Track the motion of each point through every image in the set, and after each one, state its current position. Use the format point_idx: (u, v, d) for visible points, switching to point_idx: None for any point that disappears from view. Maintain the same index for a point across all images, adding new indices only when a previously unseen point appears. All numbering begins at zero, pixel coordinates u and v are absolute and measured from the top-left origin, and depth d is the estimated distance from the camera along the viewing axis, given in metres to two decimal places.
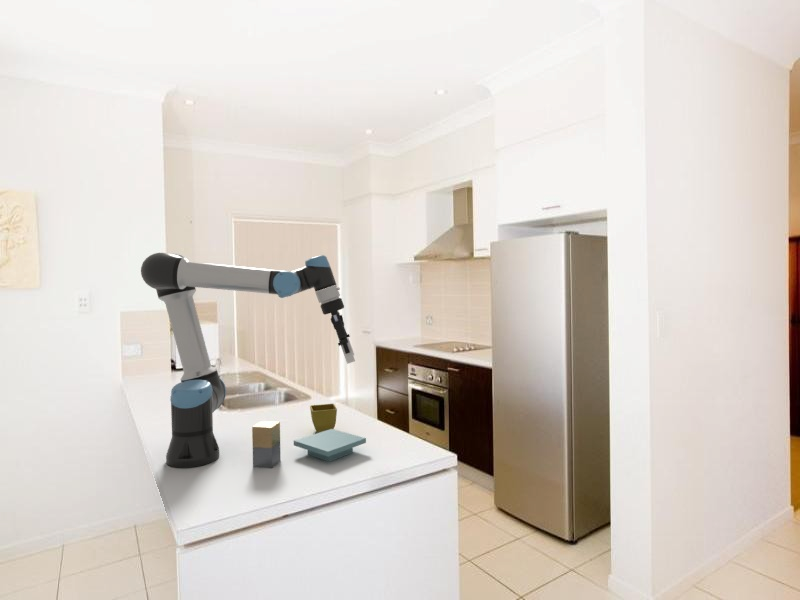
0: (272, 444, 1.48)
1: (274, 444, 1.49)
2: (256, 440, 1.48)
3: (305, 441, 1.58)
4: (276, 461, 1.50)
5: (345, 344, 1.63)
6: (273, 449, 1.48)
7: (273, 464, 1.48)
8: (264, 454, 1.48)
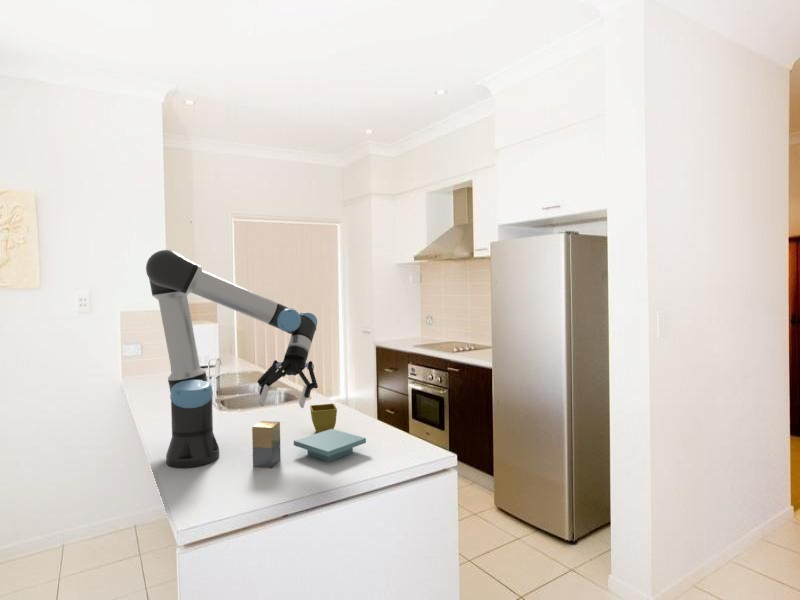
0: (272, 444, 1.48)
1: (274, 444, 1.49)
2: (256, 440, 1.48)
3: (305, 441, 1.58)
4: (276, 461, 1.50)
5: (310, 389, 1.64)
6: (273, 449, 1.48)
7: (273, 464, 1.48)
8: (264, 454, 1.48)
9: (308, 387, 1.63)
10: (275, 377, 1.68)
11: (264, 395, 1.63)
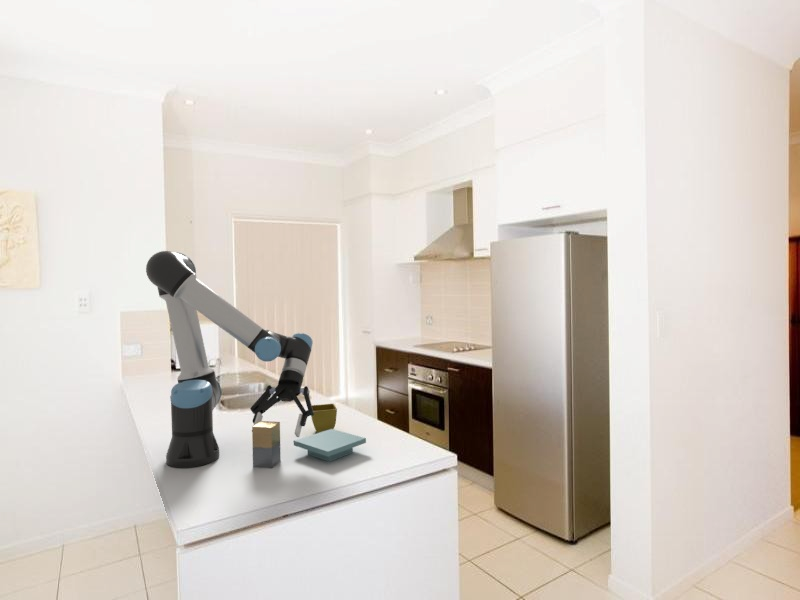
0: (272, 444, 1.48)
1: (274, 444, 1.49)
2: (256, 440, 1.48)
3: (305, 441, 1.58)
4: (276, 461, 1.50)
5: (306, 416, 1.56)
6: (273, 449, 1.48)
7: (273, 464, 1.48)
8: (264, 454, 1.48)
9: (304, 415, 1.55)
10: (269, 404, 1.60)
11: None
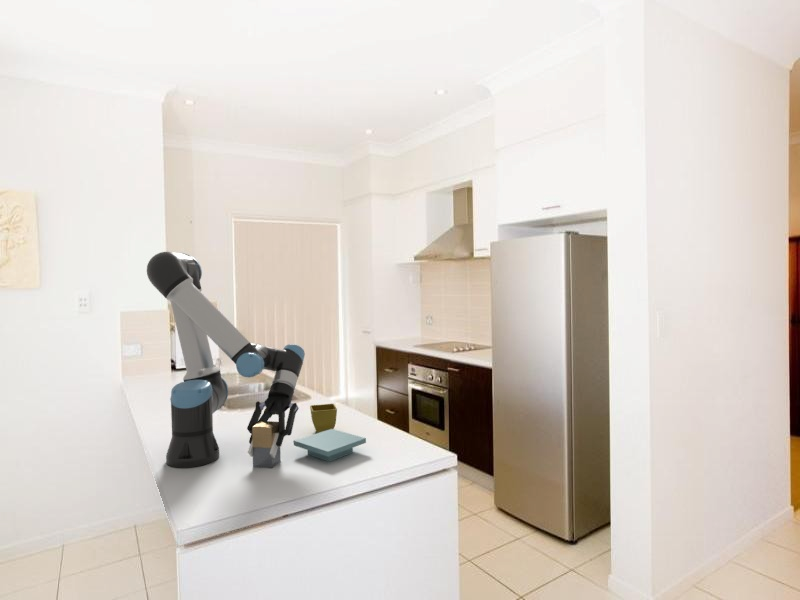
0: None
1: None
2: (256, 440, 1.48)
3: (305, 441, 1.58)
4: (276, 461, 1.50)
5: (283, 436, 1.51)
6: None
7: (273, 464, 1.48)
8: (264, 454, 1.48)
9: (279, 434, 1.50)
10: (263, 420, 1.54)
11: None
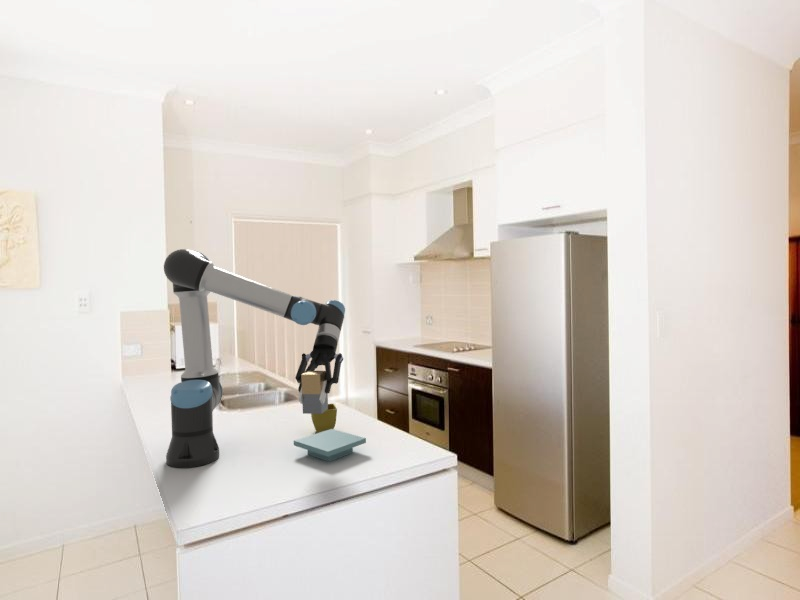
0: None
1: None
2: (305, 387, 1.53)
3: (305, 441, 1.58)
4: (324, 408, 1.56)
5: (331, 384, 1.56)
6: None
7: (322, 410, 1.54)
8: (314, 401, 1.53)
9: (327, 382, 1.55)
10: (310, 370, 1.60)
11: None
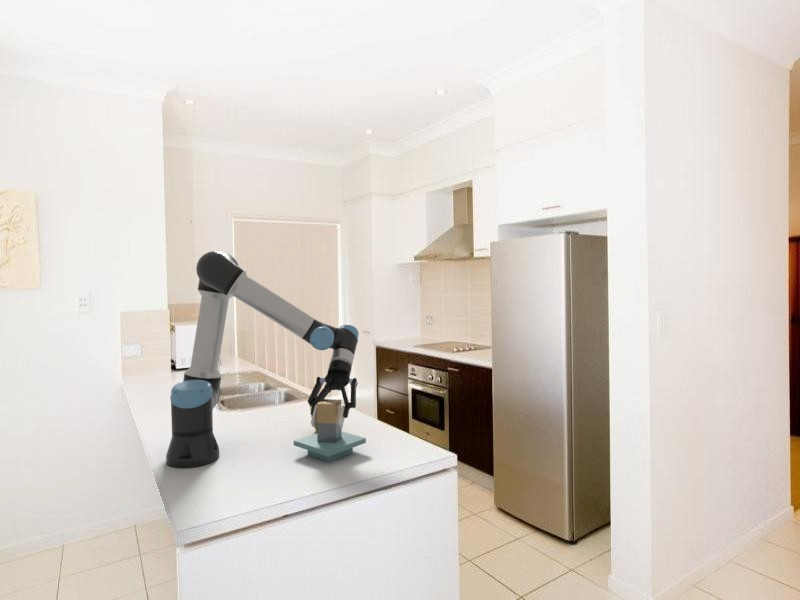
0: (336, 420, 1.56)
1: (337, 420, 1.57)
2: (321, 416, 1.56)
3: (305, 441, 1.58)
4: (338, 436, 1.59)
5: (349, 408, 1.59)
6: (337, 425, 1.57)
7: (336, 439, 1.57)
8: (328, 430, 1.56)
9: (345, 407, 1.59)
10: (323, 394, 1.63)
11: (315, 416, 1.58)
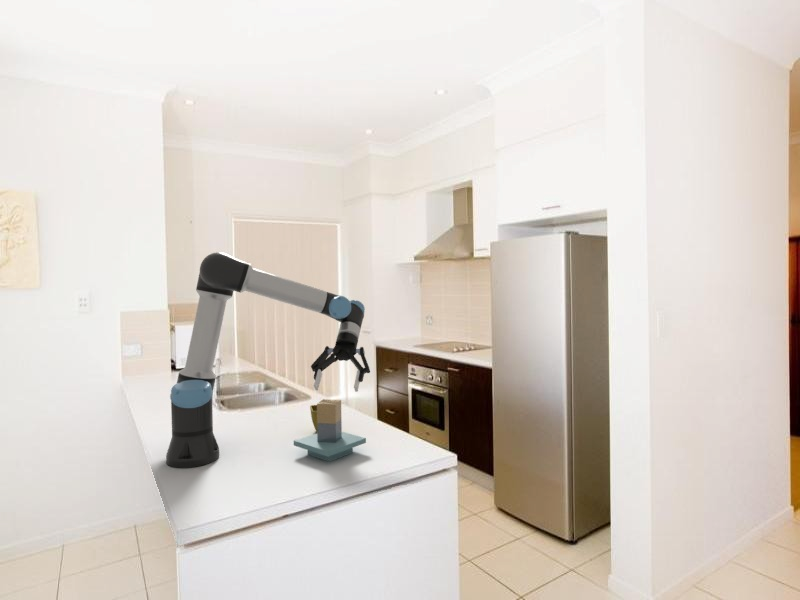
0: (336, 420, 1.56)
1: (337, 420, 1.57)
2: (321, 416, 1.56)
3: (305, 441, 1.58)
4: (338, 436, 1.59)
5: (363, 373, 1.68)
6: (337, 425, 1.57)
7: (336, 439, 1.57)
8: (328, 430, 1.56)
9: (361, 372, 1.67)
10: (328, 362, 1.72)
11: (318, 380, 1.68)
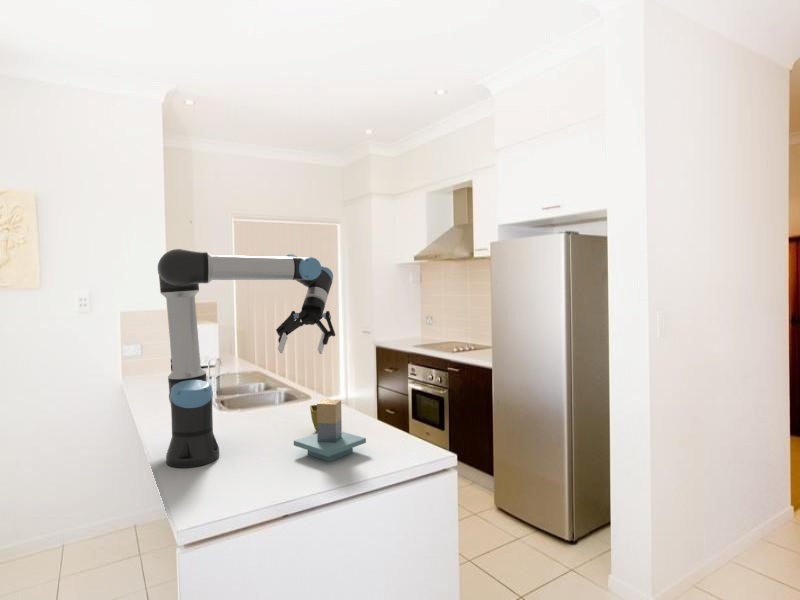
0: (336, 420, 1.56)
1: (337, 420, 1.57)
2: (321, 416, 1.56)
3: (305, 441, 1.58)
4: (338, 436, 1.59)
5: (328, 336, 1.67)
6: (337, 425, 1.57)
7: (336, 439, 1.57)
8: (328, 430, 1.56)
9: (326, 334, 1.67)
10: (293, 326, 1.71)
11: (282, 343, 1.67)
